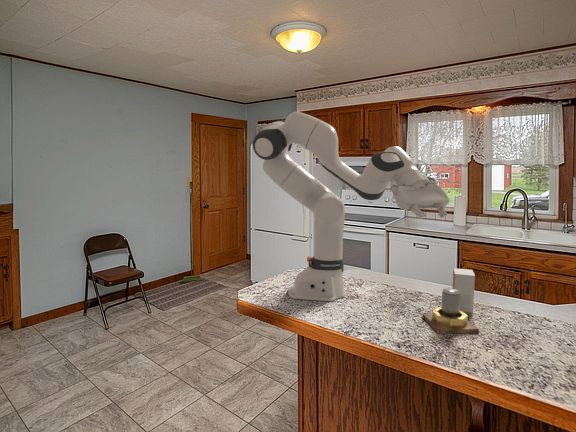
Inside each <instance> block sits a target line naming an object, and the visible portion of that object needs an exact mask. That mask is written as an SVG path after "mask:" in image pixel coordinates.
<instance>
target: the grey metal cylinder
mask: <svg viewBox="0 0 576 432" xmlns="http://www.w3.org/2000/svg"><path fill="white" fill-rule="evenodd" d="M441 292H442V293H441V307H440V308H441V315H443V316H446V317H450V318H459V304H460V293H459V291H458V290H456V289H452V288H449V287H446V288H443V289H442V291H441Z"/></svg>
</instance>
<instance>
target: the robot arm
mask: <svg viewBox="0 0 576 432" xmlns="http://www.w3.org/2000/svg"><path fill="white" fill-rule="evenodd" d="M337 133H338V132H337V131H336V129H335V128H334V127H333V126H332V125H331V124H329V123H328V122H325V121H323V120H322V119H320V118H318V117H315V116H312V115H310V114H307V113H304V112H301V111H294V112H291V113H290V114H289V115H288V116H287V117H286V118H285V119H278V120H274V121H272V122H271V123H269V124H267V125H266V126H264V127H263V129H261V130H259V131H258V133H256V134H255V136H254V138H253V140H252V149H253V152H254V154H255V155H256V156H257V157H258V158H259V159H261V160H263V163H262V164H263V165H262V169H263V171H264V172H265V174H266V175H267V176H268V177H269V178H270V180H272V181H273V183H275V184H276V185H277V186H278V187H279V188H280V189H281V190H283V191H284V192H285V193H287V194H288V195H289V196H290V197H292V198H293V199H294V200H295V201H297V202H298V203H300V204H301V205H302V206H303V207H305V208H306V209H308V210H309V211H310V212H312V213H313V214H314V217H313V218H314V219H313V221H314V222H313V223H314V225H313V226H314V227H313V229H314V230H313V256H311V255H310V256H307V257H306V261H307V262H308V267H306V268H305V269H303V270H301V271H300V272H299V273H298V274H297V275H296V276H295V278H294V282H293V285H290V286H289V287H288V290H287V291H288V292H287V294H288V296H289V297H290V298H291V299H293V300H305V301H307V300H308V301H321V302H322V301H323V302H334V301H335V300H337V299H340V298H344V297H345V296H346V294H347V292H346V288H345V285H344V284H345V282H344V274H343V273H344V267H345V261H344V257H343V252H344V251H343V250H344V249H343V246H344V229H345V212H346V207H345V204H344V201H343V200H342V198H340V197H339V196H338V195H337V194H336V193H334V192H333V191H332V190H331V189H329V188H328V187H327V186H325V184H323V183H322V182H321V181H319V179H317V178H316V177H314V175H312V174H311V173H309V171H307V170H306V169H305V168H304V167H302V166H301V165H299V163H297V162H296V161H295V160H293V159H292V158H291V157H290V155H289V152H290V151H291V149H292V146H293V144H295V145H298V146H300V147H302V148H304V149H305V150H307V151H309V152H310V153H311V154H312V155H314V156H315V157H316V159H318V162H319V164H320V166H321V167H322V168H323V169H325V170H326V171H327V172H328V173H330V174H331V175H332V176H333V177H336V178H337V179H338V180H340V181H341V182H342V183H343V184H345V185H346V186H347V187H349V188H351V189H352V190H353V191H354V192H355V193H356V194H358V196H359V197H360V198H362V199H363V200H366V201H375V200H379V199H380V198H381V197H382V196H383V194H384V192H385V190H386V188H387V187H388V185H389V184H390V182H391V181H393V182H395V184H392V186H390V190H391V192H392V195H393V198H394V201H395V203H396V205H397V207H398V208H399V209H400V210H406V211H407V210H410V211H411V212H412V213H413V214H414V215H416V216H417V218H418V219H419V220H422V219H425V218H426V217H427V215H426V213H425V211H422V210H427V209H428V210H429V209H436V210H437V211H439V213H438V216H439V217H440V218H441V219H442V218H446V217H447V216H448V213H447V212H446V206H447V205H448V204H449V203H450V198H449V196H448V194H447V193H446V192H445V190H444V189H443V188H442V187H441V186H440V185H439V184H438V183H439V181H438V180H437V179H436V178H435V177H431V176H428V175H427V174H424V173H422V172H421V171H420V169H418V168H417V167H416V166H415V162H414V161H413V159H412V158H411V157H410V155H409V154H408V153H407V152H406V151H405V150H403V149H402V148H401V147H400V146H397V145H396V146H390V147H387V148H386V149H385V150H384V151H379V152H375V153H374V154H372V156H371V157H370V158H369V160H368V161H367V164H366V166H365V167H364V170H363V171H362V173H361V174H360V173H358V172H357V171H355V170H354V169H353V168H351V167H349V166H348V165H346V164H345V163H344V162H343V161H342V160H341V158H340V155H339V137H338V134H337Z"/></svg>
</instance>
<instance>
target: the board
mask: <svg viewBox="0 0 576 432" xmlns="http://www.w3.org/2000/svg"><path fill="white" fill-rule="evenodd" d="M422 318H423V319H424V321H426V323H427V324H429V325H430V327H432V328H433V329H434V330H435V331H436V332H437V333H438V334H480V328H479V327H477V326H476V325H474V324H473V323H472V322H471V321H470V320H468V319H467V324H466V325H465V326H464V327H448V326H444V325H441V324H437V323H436V322H435V321H434V320H433V319H432V313H422Z"/></svg>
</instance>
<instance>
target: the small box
mask: <svg viewBox="0 0 576 432" xmlns="http://www.w3.org/2000/svg"><path fill="white" fill-rule="evenodd" d="M452 272H453V273H452V288H451V289H456V290H458V291H459V293H460V304H459V310H460V311H462V312H464V313H470V314H471V313H472V314H473V312H474V302H475V301H474V298H475V283H476V282H475V280H476V275H475V272H474V271H473V269H469V268H467V269H466V268H457V267H456V268H455V267H454V268H453V271H452Z"/></svg>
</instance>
